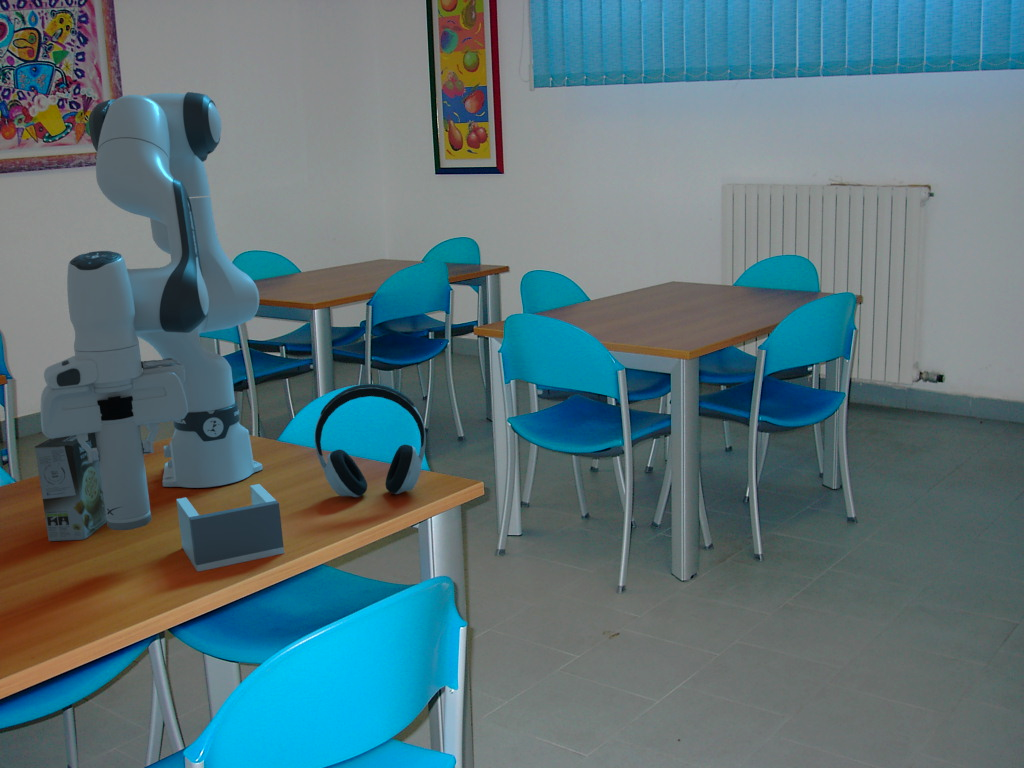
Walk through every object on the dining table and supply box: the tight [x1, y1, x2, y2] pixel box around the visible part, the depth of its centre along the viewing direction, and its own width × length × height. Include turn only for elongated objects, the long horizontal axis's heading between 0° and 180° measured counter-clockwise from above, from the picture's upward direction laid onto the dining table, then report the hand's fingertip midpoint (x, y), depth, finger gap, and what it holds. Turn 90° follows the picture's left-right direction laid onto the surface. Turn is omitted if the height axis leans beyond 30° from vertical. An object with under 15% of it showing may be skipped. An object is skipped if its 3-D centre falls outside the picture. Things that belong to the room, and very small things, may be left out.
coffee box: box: [34, 432, 107, 542], centre depth 179 cm, size 9×6×16 cm
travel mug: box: [95, 396, 152, 531], centre depth 160 cm, size 6×7×20 cm
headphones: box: [314, 383, 427, 498], centre depth 189 cm, size 19×8×20 cm, turn 95°
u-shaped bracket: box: [176, 483, 285, 573], centre depth 167 cm, size 12×13×8 cm
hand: (121, 457), depth 160 cm, fingers open, 6 cm apart
